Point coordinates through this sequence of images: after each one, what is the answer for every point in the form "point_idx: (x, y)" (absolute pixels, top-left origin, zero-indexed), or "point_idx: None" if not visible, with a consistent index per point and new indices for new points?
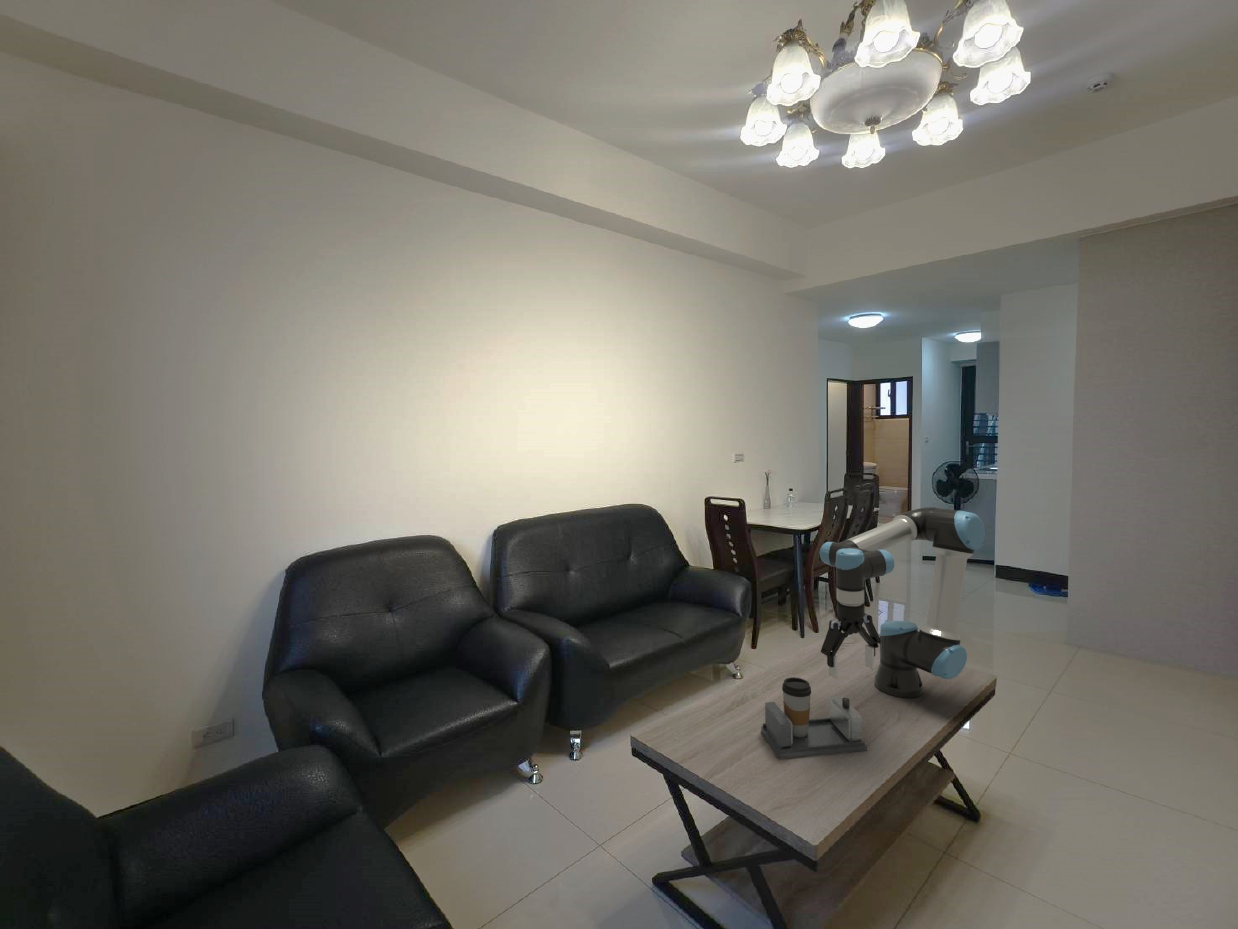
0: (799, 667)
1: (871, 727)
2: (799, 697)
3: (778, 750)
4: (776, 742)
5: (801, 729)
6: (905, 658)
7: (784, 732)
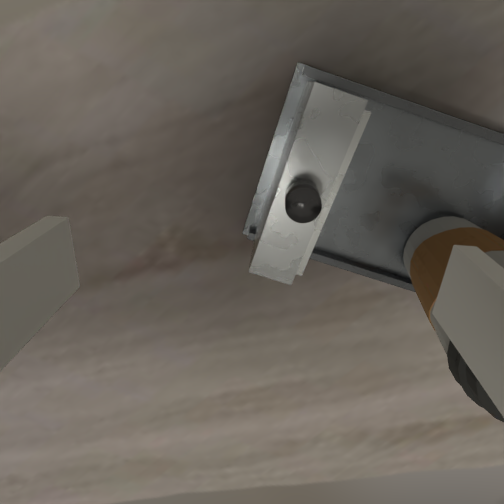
0: (132, 474)
1: (166, 169)
2: None
3: None
4: None
5: (474, 225)
6: None
7: None
